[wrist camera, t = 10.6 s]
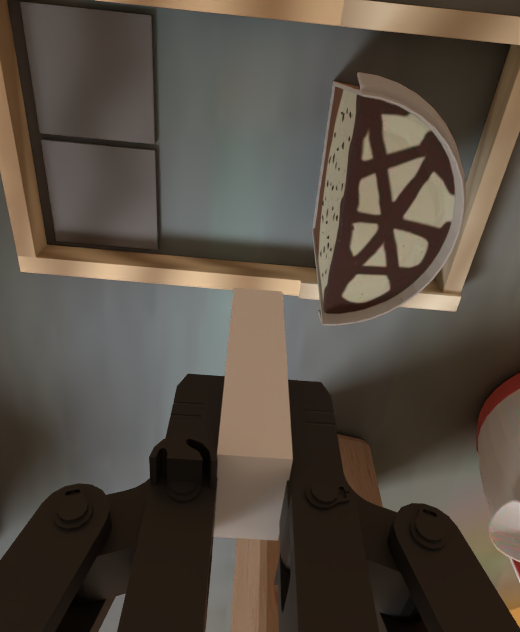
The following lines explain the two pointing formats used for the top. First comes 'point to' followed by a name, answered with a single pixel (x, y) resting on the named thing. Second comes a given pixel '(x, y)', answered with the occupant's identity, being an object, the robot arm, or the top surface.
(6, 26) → the trap channel
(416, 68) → the top surface
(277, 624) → the block
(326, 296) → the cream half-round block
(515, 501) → the citrus juicer
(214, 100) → the top surface
